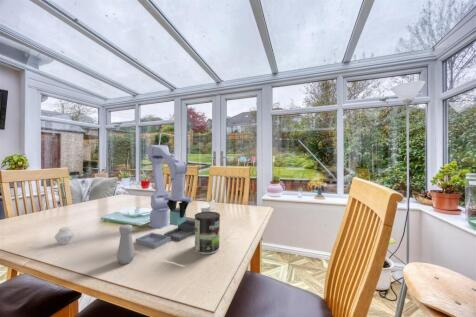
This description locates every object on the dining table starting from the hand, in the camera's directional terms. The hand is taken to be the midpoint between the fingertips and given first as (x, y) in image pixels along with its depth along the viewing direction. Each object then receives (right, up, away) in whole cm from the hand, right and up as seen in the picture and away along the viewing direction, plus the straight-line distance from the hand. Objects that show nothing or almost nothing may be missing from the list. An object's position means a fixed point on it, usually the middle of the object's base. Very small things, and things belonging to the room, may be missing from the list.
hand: (177, 216), depth 98 cm
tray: (-9, -9, -7) cm, 15 cm away
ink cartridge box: (+13, -10, +12) cm, 20 cm away
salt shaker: (-12, -10, -23) cm, 28 cm away
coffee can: (+16, -10, -12) cm, 22 cm away
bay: (+1, -9, +3) cm, 10 cm away
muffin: (-46, -9, -9) cm, 48 cm away
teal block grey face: (0, -3, 0) cm, 3 cm away
